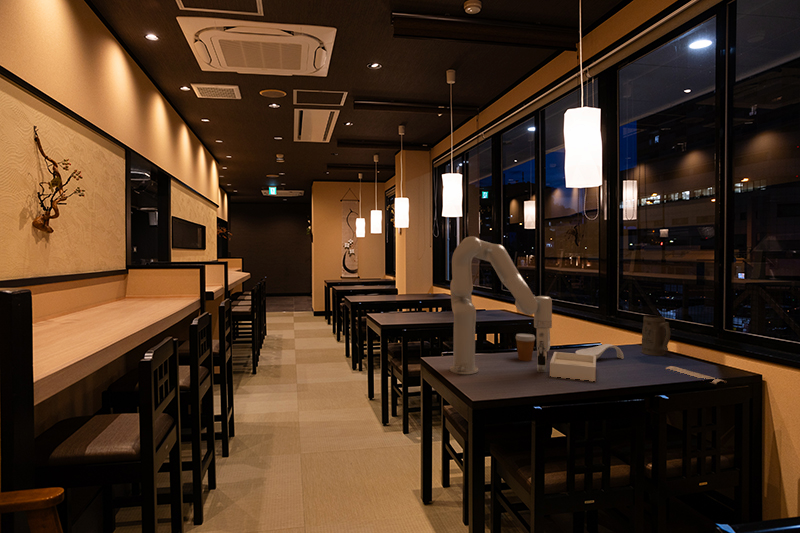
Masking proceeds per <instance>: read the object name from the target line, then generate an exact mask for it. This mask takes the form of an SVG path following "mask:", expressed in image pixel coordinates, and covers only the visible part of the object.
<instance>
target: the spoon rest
mask: <svg viewBox="0 0 800 533" xmlns="http://www.w3.org/2000/svg"><path fill="white" fill-rule="evenodd" d="M610 348H613V349H615V350H616V358H619V359H621V360H624V353H623V351H622V350H621V348H620V347H618V346H616V345H614V344H611V343H605V344H600V345H598V346H597V345H596V346H593V347H588V348H582V349H577V350H576V351H575V353H574V354H584V355H595V356H596V360H598V359H599V358H600V357H601V356H602V355H603V353H604V352H605V351H606V350H607V349H610Z"/></svg>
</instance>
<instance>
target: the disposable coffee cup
mask: <svg viewBox="0 0 800 533" xmlns="http://www.w3.org/2000/svg"><path fill="white" fill-rule="evenodd" d="M515 340H516V347H517V348H516V349H517V350H516V351H517V358H518V360H519V361H521V362H522V361H523V362H530V361H532V359H533V354H534V346H535V341H536V336H535V335H534V334H531V333H516V335H515Z"/></svg>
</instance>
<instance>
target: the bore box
mask: <svg viewBox="0 0 800 533" xmlns="http://www.w3.org/2000/svg"><path fill="white" fill-rule="evenodd" d="M596 365H597V359H596V356H595V355H584V354H576V353H572V352H561V351H560V352H559V351H554V352H553V355H552V357H551V359H550V361H549V377H550V376H551V377H550V378H557V377H561V378H560V379H566V378H570V379H569V380H575V379H580V380H579V381H584V380H589V381H588V382H593V381H595V382H596V375H597V374H596V369H597V368H596V367H597V366H596Z"/></svg>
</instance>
